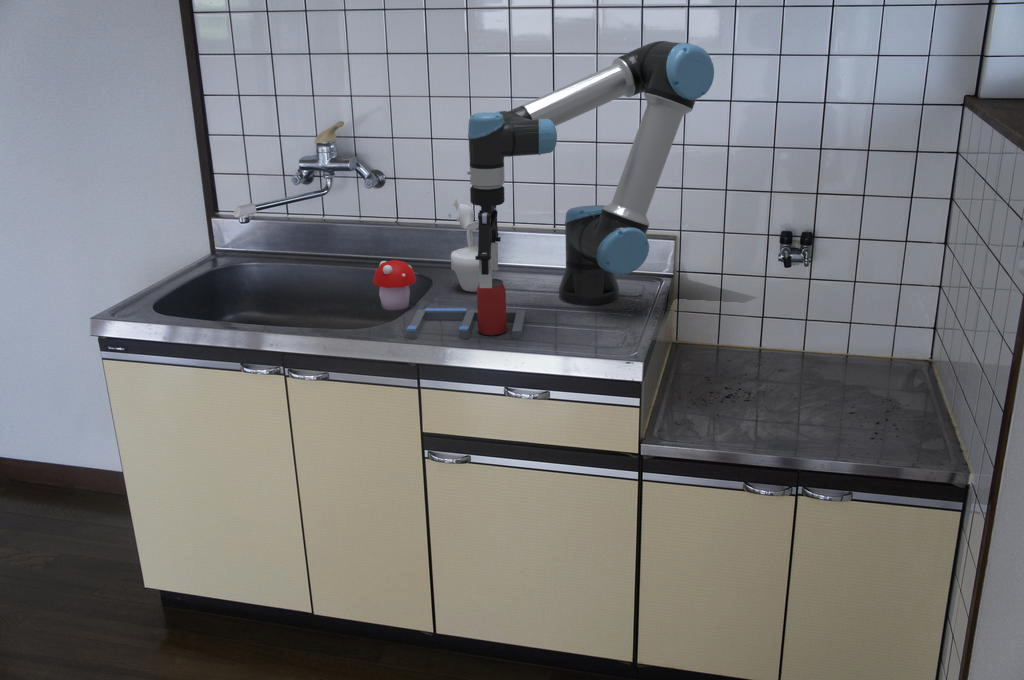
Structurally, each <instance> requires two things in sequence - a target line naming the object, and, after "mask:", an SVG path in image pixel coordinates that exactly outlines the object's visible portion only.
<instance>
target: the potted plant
mask: <svg viewBox="0 0 1024 680" xmlns="http://www.w3.org/2000/svg"><path fill="white" fill-rule="evenodd" d="M452 206H454V208H455V209H456V211H458V210H459V212H458V213H459V214H458V216H456V218H455V220H456V222H458V223H459V225H460V226H461V227H462V229H464V230H466V233H465V234H466V241H467V245H468V246H464V248H463V247H462V248H458V249H455V250H452V251H451V254H450V264H451V267H450V268H451V270H452V271H454V272H455V275H456V276H457V280H458V282H459V285H460V288H461V289H462V290H464V291H466V292H470V293H473V292H474V293H477V288H478V285H479V260H476V259H475V256H478V244H475V245H474V238H473V237H474V236H473V231H475V230H477V229H478V226H479V220H478V219H477V220H475V221H474V218H475V212H474V209H473V207H471V206H470V205H468V204H464V203H458V200H457V199H455V202H454V203H453V204H452ZM447 217H449V219H451V217H452V214H451V212H449V213H448V215H447ZM482 254H486V253H482Z"/></svg>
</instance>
